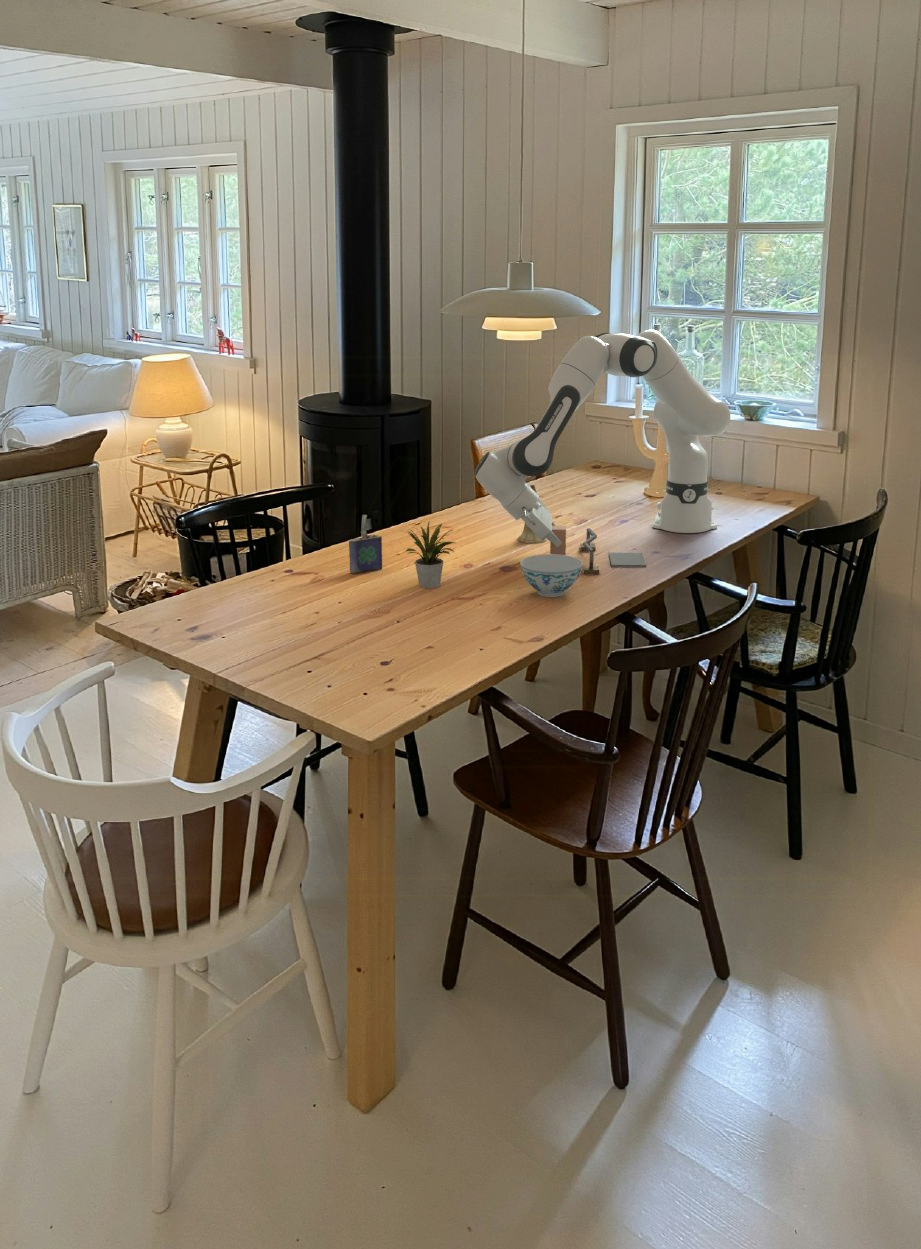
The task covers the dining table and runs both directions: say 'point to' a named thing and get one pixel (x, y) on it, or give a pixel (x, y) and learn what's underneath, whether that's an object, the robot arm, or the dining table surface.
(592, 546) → the zigzag wire
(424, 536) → the house plant
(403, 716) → the dining table surface
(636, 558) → the slate tile
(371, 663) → the dining table surface
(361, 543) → the flask
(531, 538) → the hand bell
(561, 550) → the brick block
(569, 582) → the chinaware
